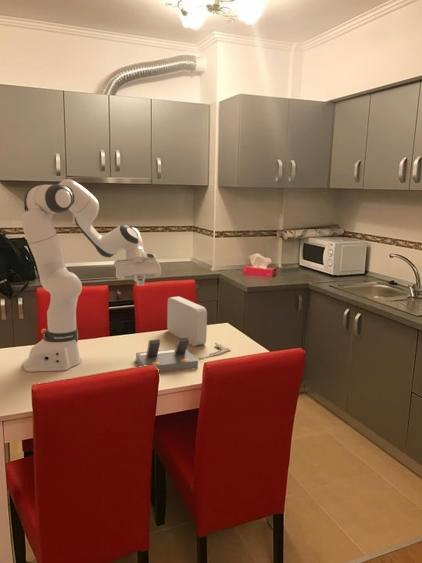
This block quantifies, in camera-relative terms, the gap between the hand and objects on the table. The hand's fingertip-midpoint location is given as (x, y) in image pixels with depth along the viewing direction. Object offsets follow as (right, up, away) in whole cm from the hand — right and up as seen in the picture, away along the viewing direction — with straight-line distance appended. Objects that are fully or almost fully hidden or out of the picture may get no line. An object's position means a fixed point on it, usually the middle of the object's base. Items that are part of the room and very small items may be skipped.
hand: (141, 284), depth 203 cm
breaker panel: (+12, -33, -11) cm, 37 cm away
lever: (+18, -28, -9) cm, 35 cm away
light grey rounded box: (+18, -26, +22) cm, 39 cm away
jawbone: (+30, -31, +4) cm, 43 cm away
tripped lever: (+6, -29, -13) cm, 33 cm away
